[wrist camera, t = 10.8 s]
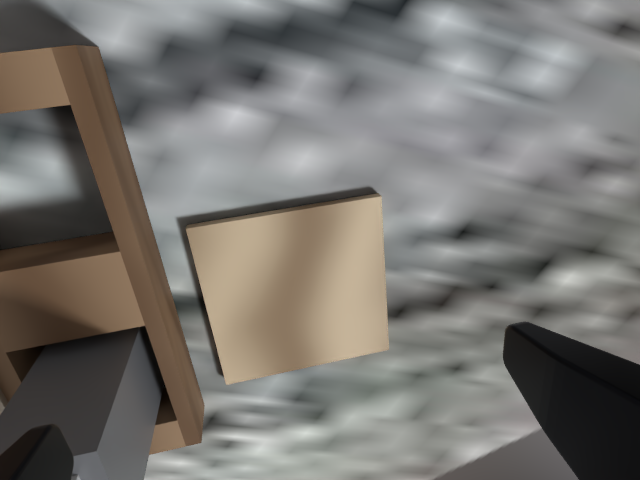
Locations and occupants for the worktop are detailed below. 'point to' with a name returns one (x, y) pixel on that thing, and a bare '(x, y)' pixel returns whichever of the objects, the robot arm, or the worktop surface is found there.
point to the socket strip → (92, 249)
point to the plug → (93, 402)
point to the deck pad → (294, 285)
